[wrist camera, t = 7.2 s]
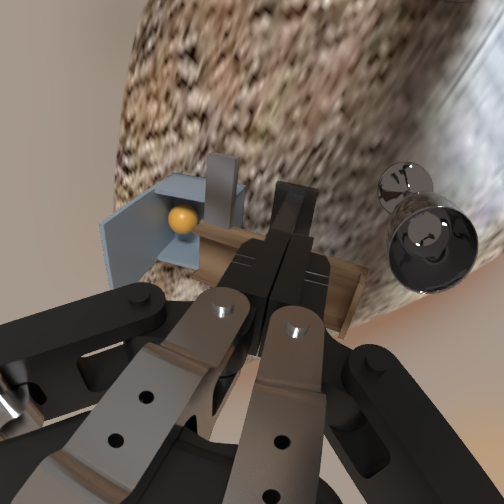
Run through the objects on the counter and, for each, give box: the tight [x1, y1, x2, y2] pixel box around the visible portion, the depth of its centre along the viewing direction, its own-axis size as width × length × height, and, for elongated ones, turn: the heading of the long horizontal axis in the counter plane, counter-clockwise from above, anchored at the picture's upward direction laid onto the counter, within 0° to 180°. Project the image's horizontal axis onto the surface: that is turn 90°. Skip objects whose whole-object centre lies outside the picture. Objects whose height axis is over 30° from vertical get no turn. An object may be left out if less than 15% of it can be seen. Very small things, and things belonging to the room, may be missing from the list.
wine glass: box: [378, 162, 478, 294], centre depth 29 cm, size 8×8×15 cm
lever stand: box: [270, 181, 318, 238], centre depth 37 cm, size 13×5×11 cm, turn 173°
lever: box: [192, 152, 368, 339], centre depth 31 cm, size 14×18×3 cm
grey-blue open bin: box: [99, 173, 246, 290], centre depth 37 cm, size 10×10×16 cm
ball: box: [168, 204, 198, 234], centre depth 42 cm, size 4×4×4 cm
